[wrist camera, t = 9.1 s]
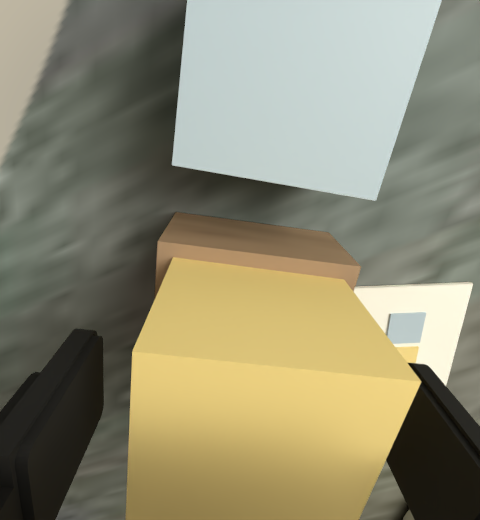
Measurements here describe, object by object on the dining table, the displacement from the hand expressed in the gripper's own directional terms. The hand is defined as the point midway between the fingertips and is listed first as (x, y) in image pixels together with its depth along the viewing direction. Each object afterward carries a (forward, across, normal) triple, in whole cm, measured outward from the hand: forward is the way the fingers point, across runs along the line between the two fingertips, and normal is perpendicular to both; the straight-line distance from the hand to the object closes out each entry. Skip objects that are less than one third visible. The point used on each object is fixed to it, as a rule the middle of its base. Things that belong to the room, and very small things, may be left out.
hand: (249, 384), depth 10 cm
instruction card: (+6, -9, +3) cm, 11 cm away
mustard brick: (+2, 0, 0) cm, 2 cm away
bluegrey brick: (+6, 0, -9) cm, 11 cm away
